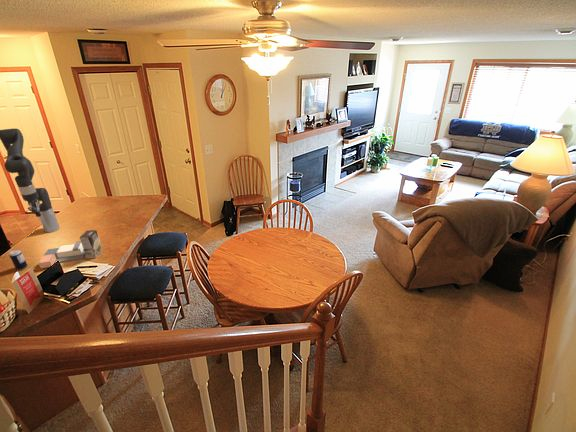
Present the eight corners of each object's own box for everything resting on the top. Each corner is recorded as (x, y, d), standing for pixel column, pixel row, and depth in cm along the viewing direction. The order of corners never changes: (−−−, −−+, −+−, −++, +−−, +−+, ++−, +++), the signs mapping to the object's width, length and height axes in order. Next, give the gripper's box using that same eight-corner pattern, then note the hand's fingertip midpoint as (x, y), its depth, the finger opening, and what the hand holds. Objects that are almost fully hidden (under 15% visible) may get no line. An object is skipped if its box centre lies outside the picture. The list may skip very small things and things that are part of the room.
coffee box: (96, 258, 196) (89, 237, 189) (86, 258, 196) (78, 237, 188) (103, 250, 204) (96, 229, 197) (93, 250, 204) (86, 230, 196)
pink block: (45, 260, 191) (42, 255, 189) (56, 259, 192) (54, 253, 190) (40, 268, 184) (38, 262, 182) (52, 266, 186) (50, 261, 184)
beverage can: (25, 263, 189) (18, 248, 183) (29, 267, 186) (22, 251, 181) (14, 268, 185) (6, 252, 179) (18, 271, 182) (10, 255, 177)
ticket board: (48, 250, 202) (45, 242, 200) (89, 244, 210) (86, 237, 207) (39, 266, 188) (35, 258, 185) (83, 259, 195) (80, 251, 192)
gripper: (24, 188, 187) (35, 212, 196) (16, 197, 177) (28, 222, 185) (39, 186, 190) (49, 210, 198) (32, 195, 179) (42, 220, 188)
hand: (39, 216), depth 192 cm, fingers closed
